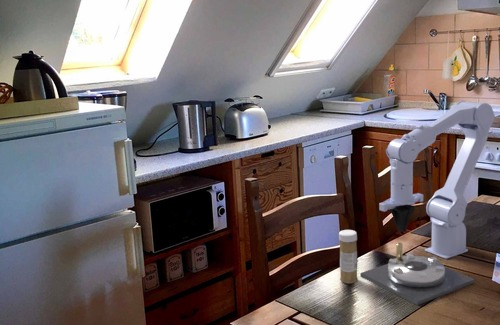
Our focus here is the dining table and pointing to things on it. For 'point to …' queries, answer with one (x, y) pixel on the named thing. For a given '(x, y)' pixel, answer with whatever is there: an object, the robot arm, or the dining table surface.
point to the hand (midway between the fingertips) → (401, 230)
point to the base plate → (417, 293)
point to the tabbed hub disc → (415, 269)
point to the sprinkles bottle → (348, 256)
